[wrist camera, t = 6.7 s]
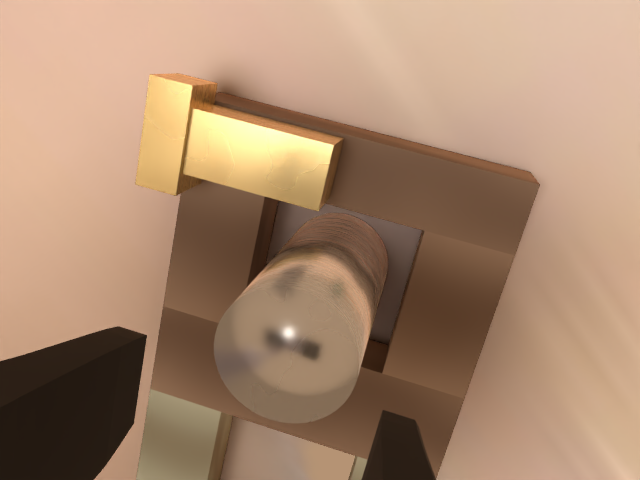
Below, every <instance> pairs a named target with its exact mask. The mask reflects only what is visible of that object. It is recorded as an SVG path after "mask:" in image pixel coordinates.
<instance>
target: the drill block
mask: <svg viewBox="0 0 640 480" xmlns="http://www.w3.org/2000/svg"><path fill="white" fill-rule="evenodd" d="M214 104H215V105H219V106H223V107H227V108H230V109H234V110H238V111H242V112H246V113H250V114H253V115H257V116H261V117H265V118H269V119H273V120H276V121H280V122H284V123H288V124H292V125H296V126H299V127H303V128H307V129H311V130H315V131H319V132H323V133H326V134H330V135H334V136H338V137H342V138H344V139H343V143H342V148H341V152H340V156H339V160H338V164H337V169H336V173H335V177H334V181H333V185H332V189H331V194H330V198H329V200H328V201H327V202H326V203H325V204H329V205H333V206H336V207H340V208H344V209H347V210H351V211H355V212H358V213H362V214H365V215H369V216H373V217H376V218H380V219H384V220H387V221H391V222H394V223H398V224H402V225H405V226H409V227H413V228H416V229H420V230H422V233H421V236H420V239H419V243H418V246H417V250H416V253H415V256H414V260H413V263H412V267H411V270H410V273H409V277H408V280H407V283H406V287H405V290H404V294H403V297H402V300H401V304H400V307H399V310H398V314H397V317H396V321H395V324H394V327H393V331H392V334H391V338H390V341H389V344H388V345H385V344H382V343H379V342H375V341H372V340H369V339H368V343H367V346H366V350H365V353H364V357H363V360H362V364H361V367H360V371H359V374H358V378H357V381H356V384H355V386H354V389H353V391H352V392H351V394H350V396H349V397H348V399H347V400H346V401H345V403H344V404H342V405H341V406H340V407H339V408H338V409H337V410H336V411H334V412H333V413H331V414H330V415H328V416H326V417H324V418H321V419H319V420H316V421H312V422H307V423H298V424H297V423H283V422H277V421H274V420H270V419H267V418H265V417H262V416H260V415H258V414H256V413H254V412H253V411H251V410H250V409H248V408H247V407H245V406H244V405H243V404H242V403H240V402H239V401H238V400H237V399H236V398H235V397H234V396H233V395H232V394H231V392H230V391H229V390H228V388H227V387H226V385H225V384H224V382H223V380H222V379H221V376H220V374H219V372H218V369H217V365H216V362H215V356H214V339H215V333H216V330H217V326H218V324H219V322H220V320H221V318H222V316H223V315H224V313H225V312H226V311H227V309H228V308H229V307H230V306H231V305H232V304H233V303H234V301H235V300H236V299H237V298H238V297H239V296H240V295H241V294H242V292H243V291H244V290H245V289H246V288H247V287H248V286H249V285H250V283H251V282H252V281H253V280H254V279H255V278H256V277H257V276H258V275H259V273H260V272H261V271H262V270H263V269H264V267H265V263H266V258H267V253H268V248H269V244H270V239H271V234H272V229H273V225H274V220H275V215H276V210H277V206H278V201H279V200H276V199H272V198H269V197H265V196H261V195H258V194H254V193H251V192H247V191H243V190H240V189H236V188H232V187H229V186H225V185H222V184H218V183H214V182H211V181H207V180H204V179H202V180H201V184H199V185H197V186H195V187H193V188H191V189H188V190H186V191H184V192H182V193H181V196H180V203H179V209H178V215H177V222H176V228H175V235H174V241H173V247H172V254H171V260H170V267H169V273H168V279H167V286H166V292H165V298H164V305H163V311H162V318H161V324H160V330H159V337H158V343H157V350H156V356H155V362H154V369H153V375H152V381H151V388H150V394H149V401H148V407H147V413H146V420H145V426H144V433H143V439H142V445H141V452H140V458H139V464H138V471H137V477H136V480H220V475H221V471H222V466H223V461H224V457H225V452H226V447H227V442H228V438H229V433H230V428H231V423H232V419H233V416H235V417H238V418H241V419H244V420H247V421H250V422H253V423H256V424H260V425H263V426H266V427H269V428H272V429H275V430H278V431H281V432H284V433H287V434H290V435H293V436H296V437H299V438H302V439H306V440H309V441H312V442H315V443H318V444H321V445H324V446H327V447H330V448H333V449H336V450H339V451H343V452H345V453H348V454H352V455H355V459H354V463H353V466H352V470H351V473H350V476H349V480H362V476H363V473H364V470H365V466H366V463H367V460H368V457H369V453H370V450H371V447H372V443H373V440H374V437H375V434H376V430H377V427H378V424H379V420H380V417H381V414H382V411H383V410H385V411H389V412H392V413H395V414H398V415H401V416H404V417H408V418H411V419H414V420H415V421H416V422H417V424H418V426H419V429H420V433H421V436H422V440H423V443H424V446H425V449H426V452H427V455H428V458H429V461H430V464H431V467H432V470H433V472H434V475H435V477H437V475H438V472H439V469H440V466H441V463H442V460H443V458H444V455H445V452H446V449H447V446H448V443H449V441H450V438H451V435H452V432H453V429H454V426H455V424H456V421H457V418H458V415H459V412H460V409H461V407H462V404H463V401H464V398H465V395H466V392H467V390H468V387H469V384H470V381H471V378H472V375H473V373H474V370H475V367H476V364H477V361H478V358H479V356H480V353H481V350H482V347H483V344H484V341H485V339H486V336H487V333H488V330H489V327H490V324H491V322H492V319H493V316H494V313H495V310H496V307H497V305H498V302H499V299H500V296H501V293H502V290H503V288H504V285H505V282H506V279H507V276H508V273H509V271H510V268H511V265H512V262H513V259H514V256H515V254H516V251H517V248H518V245H519V242H520V239H521V237H522V234H523V231H524V228H525V225H526V222H527V220H528V217H529V214H530V211H531V208H532V205H533V203H534V200H535V197H536V194H537V191H538V188H539V186H540V184H539V183H538V182H537V180H536V179H535V178H534V176H533V175H532V174H531V172H528V171H524V170H520V169H516V168H512V167H508V166H504V165H501V164H497V163H493V162H489V161H485V160H481V159H477V158H473V157H470V156H466V155H462V154H458V153H454V152H450V151H446V150H442V149H438V148H435V147H431V146H427V145H423V144H419V143H415V142H411V141H407V140H404V139H400V138H396V137H392V136H388V135H384V134H380V133H376V132H372V131H369V130H365V129H361V128H357V127H353V126H349V125H345V124H341V123H337V122H334V121H330V120H326V119H322V118H318V117H314V116H310V115H306V114H303V113H299V112H295V111H291V110H287V109H283V108H279V107H275V106H271V105H268V104H264V103H260V102H256V101H252V100H248V99H244V98H240V97H237V96H233V95H229V94H225V93H221V92H220V93H216V96H215V102H214Z"/></svg>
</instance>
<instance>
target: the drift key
mask: <svg viewBox="0 0 640 480" xmlns="http://www.w3.org/2000/svg"><path fill="white" fill-rule="evenodd" d="M217 84H218V83H214V82H210V81H206V80H202V79H199V78H195V77H191V76H187V75H183V74H179V73H176V74H150V76H149V84H148V91H147V99H146V106H145V114H144V122H143V129H142V137H141V145H140V152H139V160H138V168H137V175H136V183H135V184H136V185H139V186H143V187H146V188H150V189H153V190H157V191H161V192H164V193H168V194H171V195H175V196H176V195H178V194H180V193H182V192H184V191H186V190H188V189H191V188H193V187H195V186H197V185H199V184H201V180H202V179H204V180H207V181H211V182H214V183H218V184H222V185H225V186H229V187H232V188H236V189H240V190H243V191H247V192H251V193H254V194H258V195H261V196H265V197H269V198H272V199H276V200H279V201H283V202H287V203H290V204H294V205H297V206H301V207H305V208H308V209H312V210H315V211H319V210H320V209H321V208H322V206H323V205H324V204H325V203H326V202H327V201H328V200H329V198H330V194H331V189H332V185H333V181H334V177H335V173H336V169H337V164H338V160H339V156H340V152H341V148H342V143H343V139H344V138H342V137H338V136H334V135H330V134H326V133H323V132H319V131H315V130H311V129H307V128H303V127H299V126H296V125H292V124H288V123H284V122H280V121H276V120H273V119H269V118H265V117H261V116H257V115H253V114H250V113H246V112H242V111H238V110H234V109H230V108H227V107H223V106H219V105H215V104H214V102H215V96H216V90H217Z"/></svg>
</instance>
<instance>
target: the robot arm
mask: <svg viewBox="0 0 640 480" xmlns="http://www.w3.org/2000/svg"><path fill="white" fill-rule="evenodd" d="M146 338H147V335H144V334H141V333H138V332H135V331H131V330H128V329H125V328H122V327H119V326H118V327H113V328H109V329H105V330H102V331H98V332H95V333H92V334H88V335H85V336H82V337H79V338H76V339H73V340H69V341H66V342H63V343H60V344H57V345H54V346H51V347H47V348H44V349H41V350H38V351H35V352H31V353H28V354H25V355H22V356H18V357H15V358H11V359H7V360H4V361H0V480H94V479H95V478H96V476H97V475H98V474H99V473H100V472H101V470H102V469H103V468H104V467H105V466H106V464H107V463H108V461H109V460H110V458H111V457H112V456H113V454H114V453H115V451H116V450H117V448H118V447H119V445H120V444H121V442H122V441H123V439H124V438H125V436H126V434H127V433H128V431H129V430H130V428H131V427H132V425H133V424H134V418H135V411H136V405H137V398H138V391H139V385H140V378H141V371H142V365H143V358H144V351H145V345H146ZM362 480H436V477H435V475H434V472H433V470H432V467H431V464H430V461H429V458H428V455H427V452H426V449H425V446H424V443H423V440H422V436H421V433H420V429H419V426H418V424H417V422H416V421H415V420H414V419H411V418H408V417H404V416H401V415H398V414H395V413H392V412H389V411H385V410H383V411H382V414H381V417H380V420H379V424H378V427H377V430H376V434H375V437H374V440H373V443H372V447H371V450H370V453H369V457H368V460H367V463H366V466H365V470H364V473H363V476H362Z"/></svg>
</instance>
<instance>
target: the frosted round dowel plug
mask: <svg viewBox="0 0 640 480" xmlns="http://www.w3.org/2000/svg"><path fill="white" fill-rule="evenodd" d="M387 271H388V257H387V252H386V249H385V246H384V244H383V242H382V240H381V238H380V237H379V235H378V234H377V232H376V231H375V230H374V229H373V228H372V227H371V226H370V225H368V224H367V223H366V222H364V221H363V220H361V219H359V218H357V217H354V216H351V215H348V214H343V213H328V214H323V215H320V216H317V217H315V218H312V219H311V220H309V221H308V222H306V223H305V224H304V225H303V226H301V227H300V229H299V230H298V231H297V232H296V233H295V234H294V235H293V236H292V238H291V239H290V240H289V241H288V242H287V243H286V244H285V245H284V247H283V248H282V249H281V250H280V251H279V252H278V253H277V254H276V255H275V257H274V258H273V259H272V260H271V261H270V262H269V263H268V264H267V266H266V267H265V268H264V269H263V270H262V271H261V272H260V273H259V275H258V276H257V277H256V278H255V279H254V280H253V281H252V282H251V283H250V285H249V286H248V287H247V288H246V289H245V290H244V291H243V292H242V294H241V295H240V296H239V297H238V298H237V299H236V300H235V301H234V303H233V304H232V305H231V306H230V307H229V308H228V309H227V311H226V312H225V313H224V315H223V316H222V318H221V320H220V322H219V324H218V326H217V330H216V333H215V339H214V356H215V362H216V365H217V369H218V372H219V374H220V376H221V379H222V380H223V382H224V384H225V385H226V387H227V388H228V390H229V391H230V392H231V394H232V395H233V396H234V397H235V398H236V399H237V400H238V401H239V402H240V403H242V404H243V405H244V406H245V407H247V408H248V409H250V410H251V411H253V412H254V413H256V414H258V415H260V416H262V417H265V418H267V419H270V420H274V421H277V422H283V423H297V424H298V423H307V422H312V421H316V420H319V419H321V418H324V417H326V416H328V415H330V414H331V413H333V412H334V411H336V410H337V409H338V408H339V407H340V406H341V405H342V404H344V403H345V401H346V400H347V399H348V397H349V396H350V394H351V392H352V391H353V389H354V386H355V384H356V381H357V378H358V374H359V371H360V367H361V364H362V360H363V357H364V353H365V350H366V346H367V343H368V339H369V336H370V332H371V329H372V325H373V322H374V318H375V315H376V311H377V307H378V304H379V300H380V297H381V293H382V290H383V286H384V283H385V279H386V276H387Z"/></svg>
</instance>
